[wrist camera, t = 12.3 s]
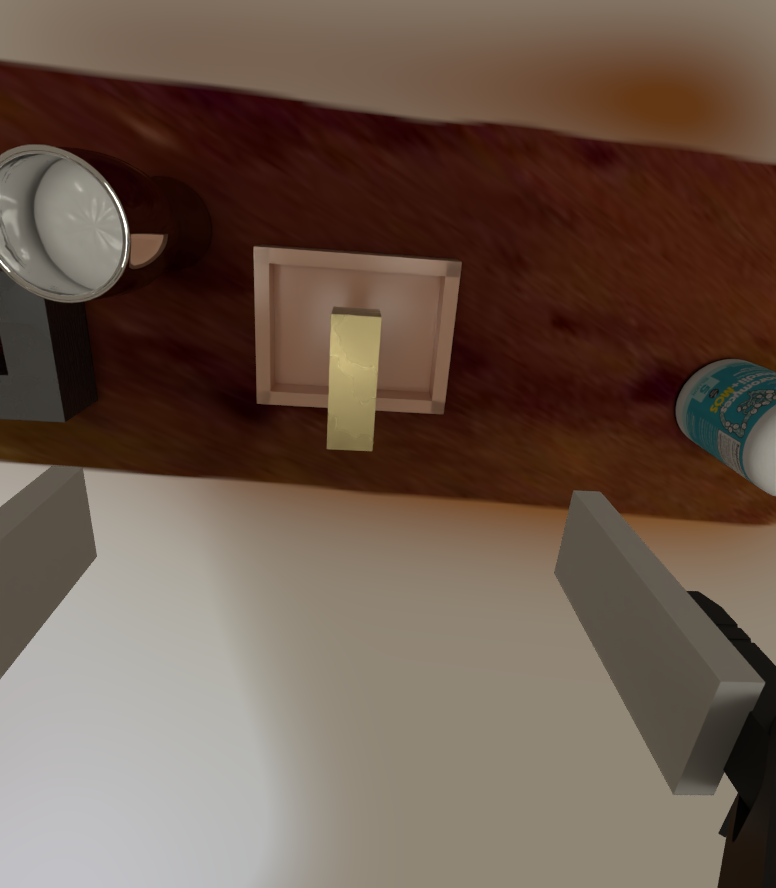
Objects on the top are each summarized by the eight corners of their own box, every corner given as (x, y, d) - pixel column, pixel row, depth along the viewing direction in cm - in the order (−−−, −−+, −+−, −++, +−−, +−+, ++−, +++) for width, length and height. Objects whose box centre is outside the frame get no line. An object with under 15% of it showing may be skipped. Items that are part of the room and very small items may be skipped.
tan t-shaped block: (340, 281, 39) (331, 313, 25) (373, 283, 39) (381, 317, 26) (337, 375, 41) (326, 449, 28) (368, 376, 42) (372, 451, 28)
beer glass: (217, 174, 36) (126, 147, 23) (219, 280, 39) (140, 314, 25) (111, 163, 36) (-47, 129, 22) (121, 271, 39) (-14, 300, 25)
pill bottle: (751, 340, 42) (912, 391, 30) (768, 419, 45) (921, 495, 33) (660, 381, 44) (778, 446, 31) (682, 455, 46) (798, 542, 34)
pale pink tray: (263, 391, 43) (256, 403, 40) (261, 244, 38) (253, 246, 36) (438, 401, 43) (443, 414, 41) (455, 258, 39) (461, 262, 36)
